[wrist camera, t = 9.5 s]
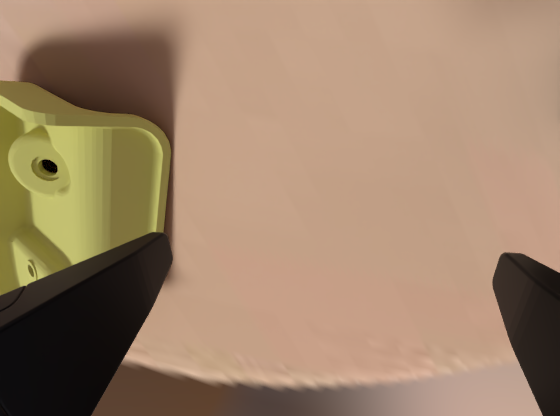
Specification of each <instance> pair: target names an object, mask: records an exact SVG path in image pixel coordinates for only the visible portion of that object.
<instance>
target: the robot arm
mask: <svg viewBox="0 0 560 416" xmlns="http://www.w3.org/2000/svg"><path fill="white" fill-rule="evenodd" d="M172 260H173V256H172V251H171V247H170V243H169V238H168V236H167V234H166V233H163V232H151V233H148V234H146V235H144V236H141V237H139V238H136V239H134V240H132V241H129V242H127V243H124V244H122V245H120V246H117V247H115V248H113V249H110V250H108V251H105V252H103V253H101V254H98V255H96V256H93V257H91V258H89V259H86V260H84V261H81V262H79V263H77V264H74V265H72V266H69V267H67V268H65V269H62V270H60V271H58V272H55V273H53V274H50V275H48V276H46V277H43V278H41V279H38V280H36V281H34V282H31V283H29V284H27V286H22V287H19V288H17V289H14V290H12V291H10V292H7V293H5V294H2V295H0V416H91V415H92V413H93V411H94V410H95V408H96V406H97V404H98V402H99V401H100V399H101V397H102V395H103V394H104V392H105V390H106V388H107V387H108V385H109V383H110V381H111V380H112V378H113V376H114V374H115V373H116V371H117V369H118V367H119V366H120V364H121V362H122V360H123V359H124V357H125V355H126V353H127V352H128V350H129V348H130V346H131V344H132V343H133V341H134V339H135V337H136V336H137V334H138V332H139V330H140V329H141V327H142V325H143V323H144V322H145V320H146V318H147V316H148V315H149V313H150V311H151V309H152V307H153V305H154V303H155V301H156V299H157V296H158V294H159V292H160V290H161V287H162V285H163V283H164V280H165V278H166V276H167V273H168V271H169V269H170V267H171V264H172ZM492 283H493V290H494V293H495V296H496V299H497V302H498V306H499V309H500V312H501V315H502V318H503V321H504V325H505V328H506V331H507V334H508V337H509V340H510V343H511V345H512V348H513V350H514V352H515V355H516V357H517V359H518V361H519V364H520V366H521V368H522V370H523V372H524V375H525V377H526V379H527V381H528V384H529V386H530V388H531V390H532V393H533V395H534V397H535V399H536V401H537V403H538V406H539V408H540V410H541V412H542V415H543V416H560V273H559V272H557V271H555V270H553V269H551V268H549V267H547V266H545V265H543V264H541V263H539V262H537V261H536V260H534V259H532V258H530V257H528V256H526V255H524V254H521V253H503V254H501V256H500V258H499V261H498V264H497V267H496V270H495V273H494V277H493V282H492Z"/></svg>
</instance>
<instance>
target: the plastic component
mask: <svg viewBox="0 0 560 416" xmlns="http://www.w3.org/2000/svg"><path fill="white" fill-rule="evenodd" d="M44 159H47V160H51V161H53V162H54V163H55V164H56V165H57V168H58V172H57V173H52V172H48V171H47V170H45V169H44V168H43V165H42V160H44ZM170 159H171V149H170V144H169V141H168V139H167V137H166V135H165V133H164V132H163V131H162V130H161V129H160V128H159V127H158V126H157V125H155V124H153V123H152V122H150V121H148V120H146V119H144V118H142V117H139V116H136V115H133V114H118V113H104V112H97V111H92V110H87V109H83V108H80V107H77V106H74V105H72V104H70V103H68V102H67V101H65V100H63V99H61V98H59V97H57V96H55V95H54V94H52V93H50V92H48V91H46V90H44V89H43V88H41V87H39V86H37V85H35V84H32V83H30V82H15V81H0V295H2V294H5V293H7V292H10V291H12V290H14V289H17V288H19V287H22V286H27V284H29V283H31V282H34V281H36V280H38V279H41V278H43V277H46V276H48V275H50V274H53V273H55V272H58V271H60V270H62V269H65V268H67V267H69V266H72V265H74V264H77V263H79V262H81V261H84V260H86V259H89V258H91V257H93V256H96V255H98V254H101V253H103V252H105V251H108V250H110V249H113V248H115V247H117V246H120V245H122V244H124V243H127V242H129V241H132V240H134V239H136V238H139V237H141V236H144V235H146V234H148V233H151V232H163V230H164V220H165V210H166V200H167V189H168V179H169V169H170Z"/></svg>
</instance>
